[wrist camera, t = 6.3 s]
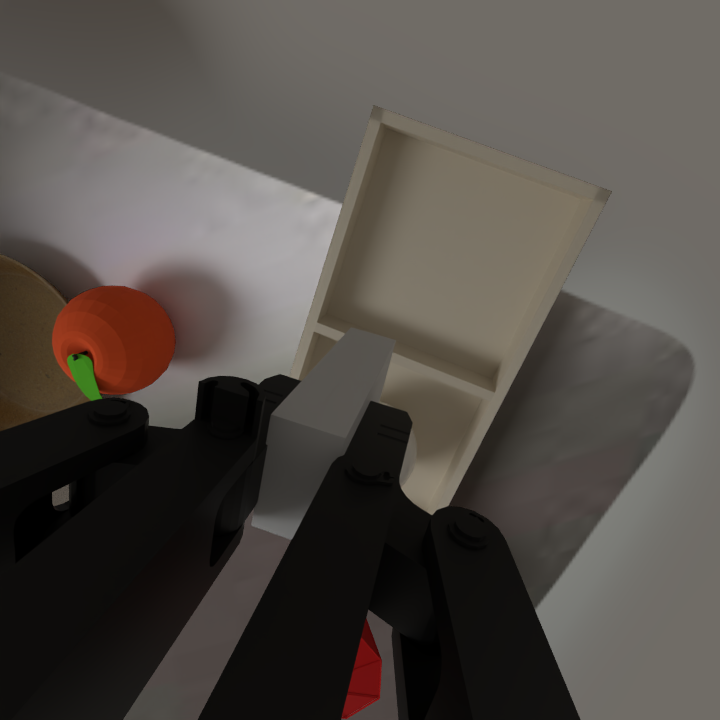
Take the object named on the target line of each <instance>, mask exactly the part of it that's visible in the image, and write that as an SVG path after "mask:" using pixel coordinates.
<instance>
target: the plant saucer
mask: <svg viewBox="0 0 720 720" xmlns="http://www.w3.org/2000/svg"><path fill="white" fill-rule="evenodd" d="M68 303H69V301H68V300H67V299H66V298H65V297H64V296H63V295H62V294H61V293H60V292H59V291H58V290H57V289H56V288H55V287H54V286H53V285H52V284H51V283H49V282H48V281H47V280H46V279H44V278H43V277H42V276H40V275H39V274H38V273H36V272H35V271H33V270H32V269H30V268H28V267H27V266H25V265H23V264H21V263H20V262H18V261H16V260H14V259H12V258H9V257H7V256H5V255H2V254H0V431H2V430H5V429H8V428H11V427H14V426H17V425H20V424H23V423H26V422H29V421H32V420H35V419H38V418H41V417H44V416H47V415H49V414H52V413H55V412H58V411H61V410H64V409H67V408H70V407H73V406H76V405H79V404H82V403H85V402H88V401H91V400H90V399H89V398H88V397H87V396H85V394H84V393H83V392H82V391H81V389H80V388H79V387H78V385H77V383H76V382H74V381H73V380H72V379H71V378H70V377H69V376H68V375H67V374H65V372H64V371H63V370H62V368H61V367H60V365H59V364H58V362H57V359H56V357H55V355H54V351H53V346H52V333H53V329H54V325H55V322H56V319H57V316H58V315H59V313H60V312H61V311H62V309H63V308H64V307H65V306H66V305H67V304H68Z"/></svg>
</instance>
